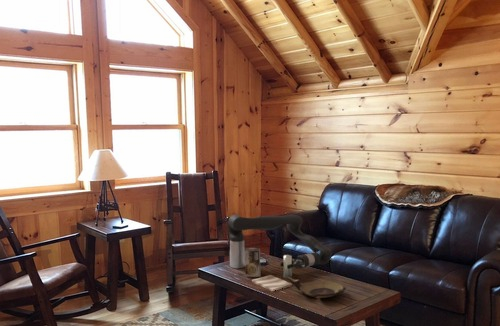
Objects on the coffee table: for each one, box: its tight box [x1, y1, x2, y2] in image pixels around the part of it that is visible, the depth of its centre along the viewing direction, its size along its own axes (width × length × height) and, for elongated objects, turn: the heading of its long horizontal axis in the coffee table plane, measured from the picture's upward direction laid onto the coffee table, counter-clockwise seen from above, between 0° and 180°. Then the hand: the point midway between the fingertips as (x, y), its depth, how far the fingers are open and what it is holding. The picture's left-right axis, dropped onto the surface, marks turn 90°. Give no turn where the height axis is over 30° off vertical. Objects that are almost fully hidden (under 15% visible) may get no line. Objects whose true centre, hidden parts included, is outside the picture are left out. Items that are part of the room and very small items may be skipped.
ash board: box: [251, 274, 293, 292], centre depth 247 cm, size 19×14×1 cm
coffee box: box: [244, 247, 261, 278], centre depth 262 cm, size 9×6×16 cm
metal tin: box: [282, 254, 293, 280], centre depth 257 cm, size 5×5×13 cm
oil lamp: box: [287, 277, 347, 299], centre depth 230 cm, size 22×30×8 cm
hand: (284, 265), depth 255 cm, fingers open, 5 cm apart
